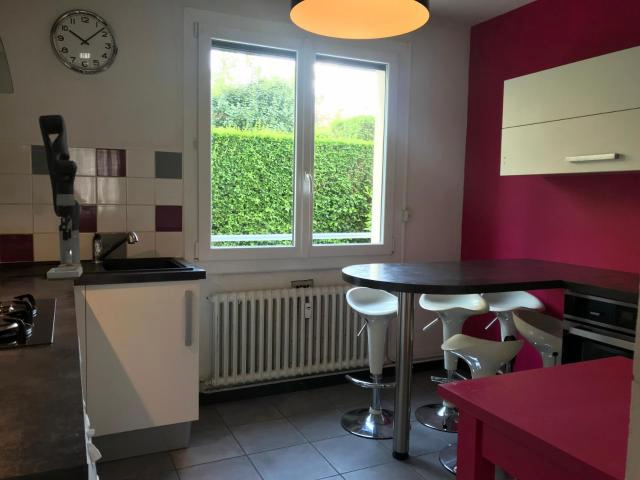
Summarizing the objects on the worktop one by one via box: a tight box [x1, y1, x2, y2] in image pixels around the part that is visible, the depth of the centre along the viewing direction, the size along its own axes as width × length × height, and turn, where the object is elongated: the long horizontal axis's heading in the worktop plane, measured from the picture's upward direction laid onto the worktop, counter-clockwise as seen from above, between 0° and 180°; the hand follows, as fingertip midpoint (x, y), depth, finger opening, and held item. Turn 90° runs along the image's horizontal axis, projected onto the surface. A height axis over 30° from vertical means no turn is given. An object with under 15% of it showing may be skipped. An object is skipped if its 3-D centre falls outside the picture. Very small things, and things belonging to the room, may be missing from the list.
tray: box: [46, 266, 83, 282], centre depth 232 cm, size 12×12×4 cm
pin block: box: [56, 263, 82, 268], centre depth 244 cm, size 9×9×4 cm
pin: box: [66, 249, 72, 266], centre depth 243 cm, size 3×3×10 cm
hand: (67, 239), depth 242 cm, fingers open, 8 cm apart
